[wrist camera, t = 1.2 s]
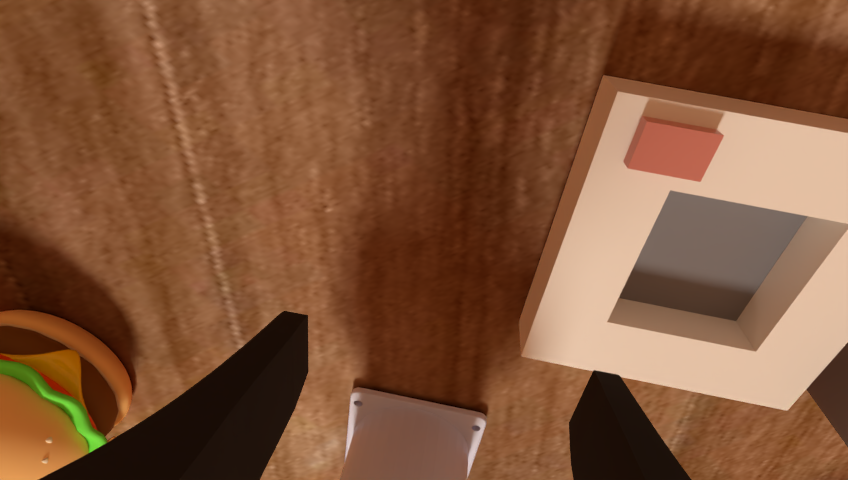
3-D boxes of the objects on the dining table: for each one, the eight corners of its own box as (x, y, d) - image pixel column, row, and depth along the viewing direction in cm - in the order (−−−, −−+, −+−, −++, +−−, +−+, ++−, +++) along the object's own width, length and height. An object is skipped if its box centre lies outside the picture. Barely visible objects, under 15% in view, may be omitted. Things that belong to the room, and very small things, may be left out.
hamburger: (172, 435, 33) (79, 572, 26) (15, 408, 34) (-118, 533, 26) (126, 304, 26) (-14, 437, 19) (-65, 275, 27) (-269, 392, 20)
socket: (761, 369, 23) (794, 422, 20) (518, 321, 23) (521, 366, 21) (943, 136, 16) (1026, 169, 14) (603, 75, 17) (621, 96, 14)
